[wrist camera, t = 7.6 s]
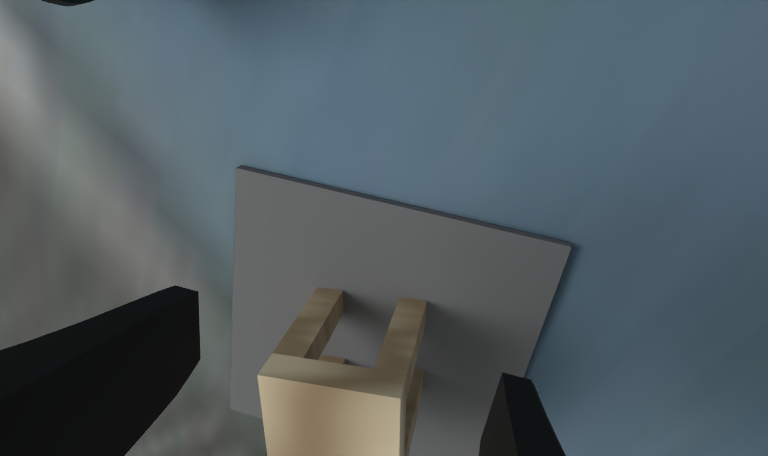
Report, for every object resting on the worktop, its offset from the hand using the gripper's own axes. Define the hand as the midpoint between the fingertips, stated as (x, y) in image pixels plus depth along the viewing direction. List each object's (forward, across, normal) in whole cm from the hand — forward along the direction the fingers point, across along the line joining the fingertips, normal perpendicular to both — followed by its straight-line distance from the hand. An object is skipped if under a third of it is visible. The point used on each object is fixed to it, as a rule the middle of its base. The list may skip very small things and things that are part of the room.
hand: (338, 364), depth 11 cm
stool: (+9, +1, +7) cm, 12 cm away
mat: (+10, +1, +7) cm, 12 cm away
